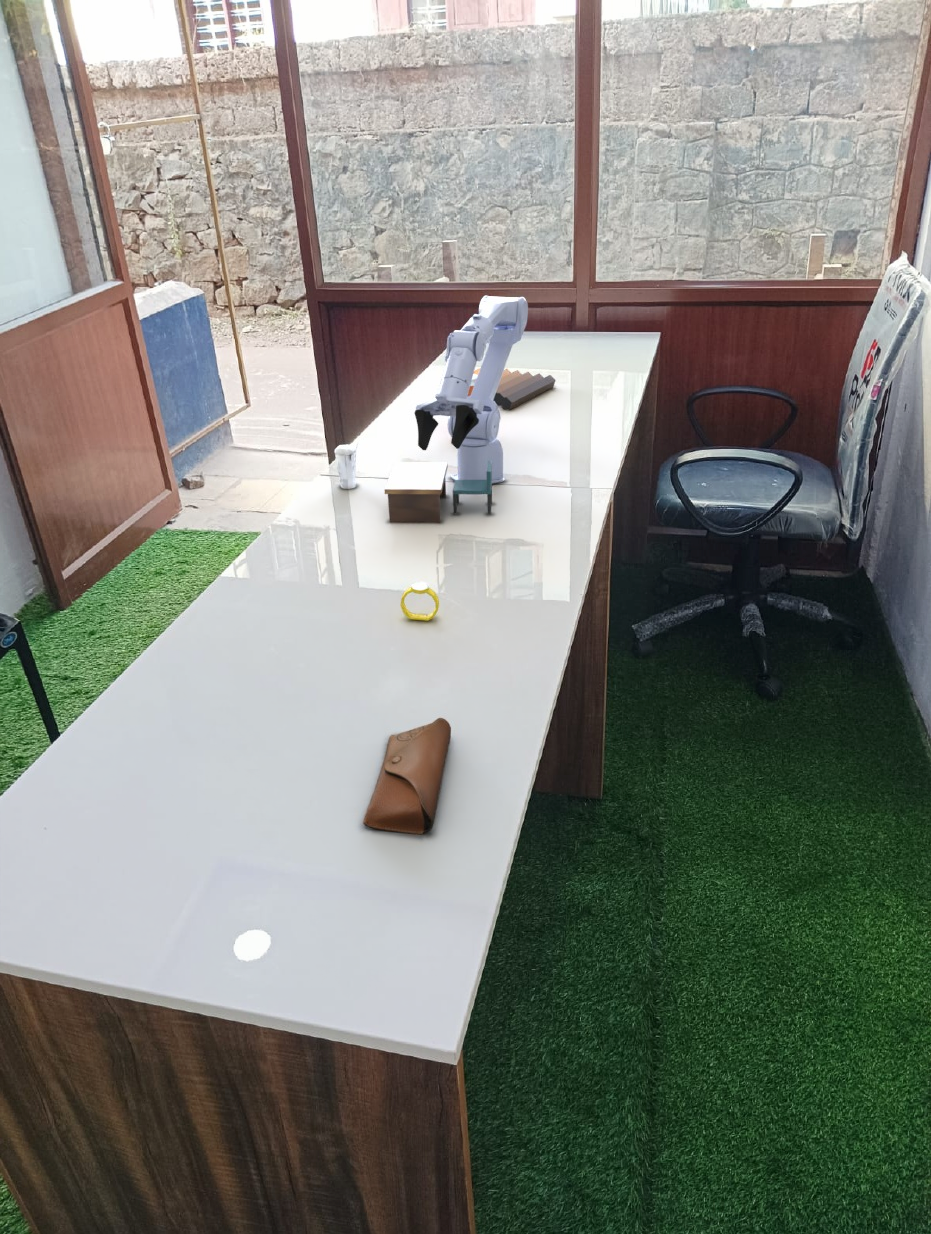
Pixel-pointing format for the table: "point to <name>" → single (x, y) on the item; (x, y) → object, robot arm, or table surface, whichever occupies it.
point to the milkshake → (346, 465)
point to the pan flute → (519, 387)
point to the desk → (416, 491)
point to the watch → (419, 589)
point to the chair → (474, 488)
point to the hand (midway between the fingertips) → (438, 446)
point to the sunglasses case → (410, 780)
